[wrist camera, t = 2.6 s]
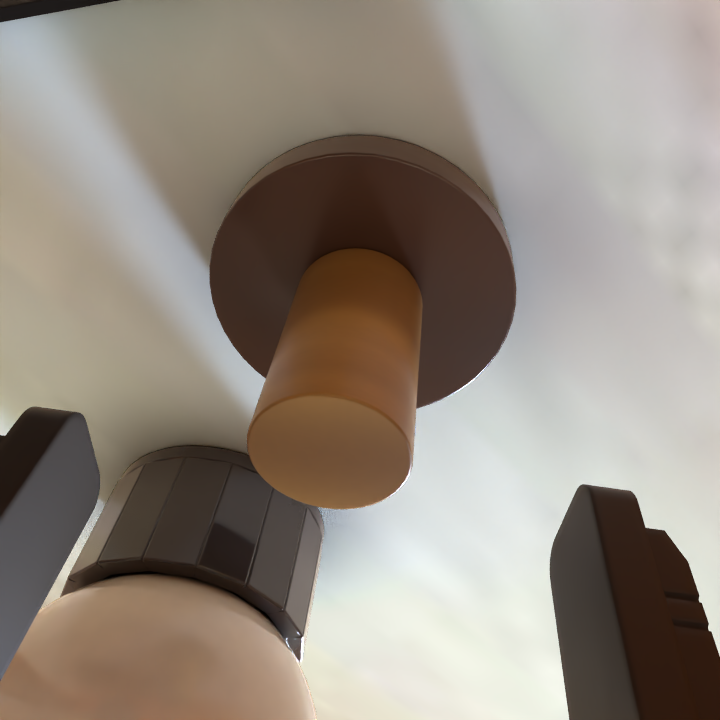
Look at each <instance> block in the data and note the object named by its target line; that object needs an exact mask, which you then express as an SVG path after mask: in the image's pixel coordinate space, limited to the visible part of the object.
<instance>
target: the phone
mask: <svg viewBox="0 0 720 720" xmlns="http://www.w3.org/2000/svg"><path fill="white" fill-rule="evenodd" d="M113 1H119V0H0V22H4V21H10V20H15V19H21V18H26V17H32V16H37V15H42V14H48V13H53V12H59V11H64V10H70V9H75V8H81V7H86V6H91V5H97V4H102V3H108V2H113Z"/></svg>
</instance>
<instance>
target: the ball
mask: <svg viewBox="0 0 720 720" xmlns="http://www.w3.org/2000/svg"><path fill="white" fill-rule="evenodd" d="M0 720H317V717H316V710H315V706H314V702H313V699H312V696H311V692H310V689H309V686H308V683H307V680H306V677H305V675H304V673H303V670H302V668H301V666H300V664H299V662H298V659H297V657H296V656H295V654H294V652H293V651H292V649H291V648H290V646H289V645H288V643H287V642H286V640H285V639H284V637H283V635H282V634H281V633H280V632H279V630H278V629H277V628H276V627H275V626H274V625H273V624H272V623H271V622H270V621H269V619H268V618H267V617H266V616H265V615H264V614H263V613H262V612H260V611H259V610H258V609H257V608H256V607H255V606H253V605H252V604H251V603H249V602H248V601H246V600H245V599H243V598H242V597H240V596H239V595H237V594H235V593H234V592H232V591H230V590H227V589H224V588H221V587H219V586H216V585H213V584H210V583H208V582H205V581H202V580H200V579H197V578H193V577H186V576H179V575H172V574H165V573H159V572H151V573H133V574H127V575H122V576H117V577H113V578H108V579H104V580H101V581H97V582H94V583H92V584H89V585H87V586H84V587H82V588H79V589H77V590H74V591H72V592H70V593H67V594H65V595H64V596H62V597H60V598H58V599H57V600H55V601H53V602H51V603H50V604H48V605H46V606H45V607H43V608H41V609H40V610H39V611H38V613H37V615H36V617H35V619H34V621H33V622H32V624H31V626H30V628H29V630H28V632H27V633H26V635H25V637H24V639H23V641H22V643H21V644H20V646H19V648H18V650H17V652H16V654H15V656H14V657H13V659H12V661H11V663H10V665H9V667H8V668H7V670H6V672H5V674H4V676H3V678H2V679H1V681H0Z"/></svg>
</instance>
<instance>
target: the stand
mask: <svg viewBox="0 0 720 720" xmlns="http://www.w3.org/2000/svg"><path fill="white" fill-rule="evenodd" d="M323 537H324V525H323V521H322V517H321V514H320V512H319V510H318V507H317V506H313V505H309V504H305V503H302V502H300V501H297V500H295V499H292V498H290V497H288V496H286V495H284V494H283V493H281V492H279V491H278V490H276V489H275V488H274V487H272V486H271V485H270V484H269V483H267V482H266V481H265V480H264V479H263V478H262V477H261V475H260V474H259V473H258V472H257V470H256V469H255V467H254V466H253V464H252V462H251V460H250V457H249V456H247V455H245V454H241V453H238V452H234V451H230V450H226V449H220V448H215V447H204V446H181V447H171V448H167V449H162V450H158V451H155V452H153V453H150V454H147V455H145V456H144V457H142V458H140V459H138V460H137V461H136V462H134V463H133V464H132V465H130V466H129V467H128V469H127V470H126V471H125V472H124V473H123V475H122V477H121V479H120V480H119V481H118V482H117V484H116V486H115V488H114V490H113V492H112V494H111V496H110V498H109V499H108V501H107V503H106V505H105V507H104V509H103V511H102V513H101V515H100V517H99V519H98V521H97V522H96V524H95V526H94V528H93V530H92V532H91V534H90V536H89V538H88V540H87V542H86V543H85V545H84V547H83V549H82V551H81V553H80V555H79V557H78V559H77V561H76V563H75V565H74V566H73V568H72V570H71V572H70V574H69V576H68V578H67V581H66V583H65V586H64V588H63V591H62V593H61V596H60V597H62V596H64V595H65V594H67V593H70V592H72V591H74V590H77V589H79V588H82V587H84V586H87V585H89V584H92V583H94V582H97V581H101V580H104V579H108V578H113V577H117V576H122V575H127V574H133V573H151V572H159V573H165V574H172V575H179V576H186V577H193V578H197V579H200V580H202V581H205V582H208V583H210V584H213V585H216V586H219V587H221V588H224V589H227V590H230V591H232V592H234V593H235V594H237V595H239V596H240V597H242V598H243V599H245V600H246V601H248V602H249V603H251V604H252V605H253V606H255V607H256V608H257V609H258V610H259V611H260V612H262V613H263V614H264V615H265V616H266V617H267V618H268V619H269V621H270V622H271V623H272V624H273V625H274V626H275V627H276V628H277V629H278V630H279V632H280V633H281V634H282V635H283V637H284V639H285V640H286V642H287V643H288V645H289V646H290V648H291V649H292V651H293V652H294V654H295V656H296V657H297V659H298V662H300V661H301V660H302V658H303V654H304V648H305V643H306V637H307V632H308V626H309V621H310V615H311V610H312V604H313V599H314V593H315V588H316V582H317V577H318V571H319V566H320V561H321V550H322V543H323Z"/></svg>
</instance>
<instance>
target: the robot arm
mask: <svg viewBox="0 0 720 720" xmlns="http://www.w3.org/2000/svg"><path fill="white" fill-rule="evenodd" d="M99 490H100V474H99V469H98V465H97V462H96V458H95V454H94V450H93V446H92V442H91V439H90V435H89V431H88V427H87V423H86V420H85V418H84V416H83V415H82V414H81V413H78V412H70V411H63V410H56V409H49V408H41V407H31V408H29V409H27V410H26V411H25V412H24V413H23V414H22V415H21V416H20V418H19V419H18V420H17V421H16V423H15V424H14V425H13V427H12V428H11V429H10V431H9V432H8V433H7V435H6V436H2V435H0V681H1V679H2V678H3V676H4V674H5V672H6V670H7V668H8V667H9V665H10V663H11V661H12V659H13V657H14V656H15V654H16V652H17V650H18V648H19V646H20V644H21V643H22V641H23V639H24V637H25V635H26V633H27V632H28V630H29V628H30V626H31V624H32V622H33V621H34V619H35V617H36V615H37V613H38V611H39V610H40V608H41V606H42V604H43V602H44V600H45V599H46V597H47V595H48V593H49V591H50V589H51V587H52V586H53V584H54V582H55V580H56V578H57V576H58V575H59V573H60V571H61V569H62V567H63V565H64V564H65V562H66V560H67V558H68V556H69V554H70V553H71V551H72V549H73V547H74V545H75V543H76V542H77V540H78V538H79V536H80V534H81V532H82V530H83V529H84V527H85V525H86V523H87V521H88V519H89V518H90V516H91V514H92V512H93V510H94V508H95V505H96V502H97V499H98V495H99ZM550 581H551V588H552V596H553V603H554V610H555V617H556V625H557V632H558V639H559V647H560V654H561V661H562V669H563V676H564V683H565V691H566V698H567V705H568V712H569V720H720V656H719V653H718V650H717V647H716V644H715V641H714V638H713V635H712V632H710V631H709V630H708V625H709V623H708V620H707V617H706V614H705V611H704V608H703V605H702V603H699V594H698V591H697V588H696V585H695V582H694V579H693V576H692V573H691V570H690V567H689V564H688V561H687V560H686V559H685V557H684V556H683V555H682V553H681V552H680V551H679V549H678V548H677V547H676V545H675V544H674V543H673V541H672V540H671V539H670V537H669V536H668V535H667V533H666V532H665V531H664V530H656V529H649V528H645V525H644V521H643V518H642V515H641V511H640V508H639V504H638V501H637V498H636V497H635V495H634V494H633V493H632V492H631V491H627V490H620V489H613V488H606V487H598V486H591V485H584V484H583V485H581V486H579V488H578V489H577V491H576V493H575V495H574V497H573V499H572V502H571V504H570V506H569V508H568V510H567V513H566V515H565V517H564V519H563V522H562V524H561V526H560V528H559V530H558V533H557V535H556V537H555V539H554V542H553V546H552V550H551V557H550Z"/></svg>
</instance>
